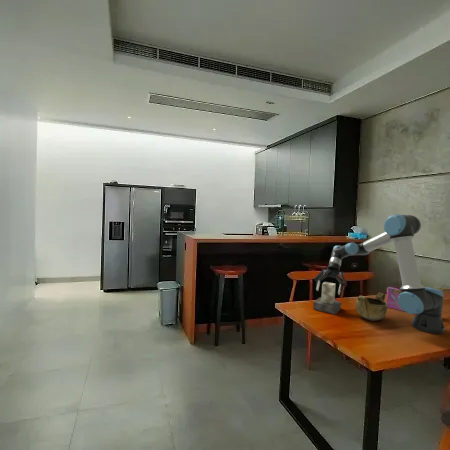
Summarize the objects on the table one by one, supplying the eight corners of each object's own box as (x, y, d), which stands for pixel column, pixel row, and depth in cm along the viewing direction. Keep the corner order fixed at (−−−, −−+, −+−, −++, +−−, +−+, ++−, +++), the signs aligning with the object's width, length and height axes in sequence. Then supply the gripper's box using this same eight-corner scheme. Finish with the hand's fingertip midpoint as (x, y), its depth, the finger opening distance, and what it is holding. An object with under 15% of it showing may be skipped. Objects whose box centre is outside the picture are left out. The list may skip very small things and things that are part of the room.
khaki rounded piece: (372, 327, 164) (374, 300, 163) (345, 316, 179) (347, 292, 178) (394, 320, 176) (396, 295, 175) (367, 311, 191) (369, 288, 190)
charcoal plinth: (340, 309, 194) (341, 301, 194) (335, 315, 182) (336, 307, 182) (319, 304, 202) (319, 297, 201) (313, 309, 190) (313, 302, 190)
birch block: (334, 301, 193) (335, 283, 192) (332, 304, 187) (333, 285, 186) (323, 299, 197) (324, 281, 196) (321, 302, 191) (322, 283, 190)
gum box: (383, 306, 203) (385, 286, 202) (387, 304, 208) (389, 285, 208) (425, 316, 186) (426, 295, 185) (427, 314, 191) (429, 293, 191)
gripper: (354, 271, 198) (348, 298, 186) (316, 266, 211) (309, 291, 199) (353, 264, 193) (347, 292, 181) (315, 259, 206) (307, 285, 195)
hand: (327, 291), depth 190 cm, fingers open, 13 cm apart
